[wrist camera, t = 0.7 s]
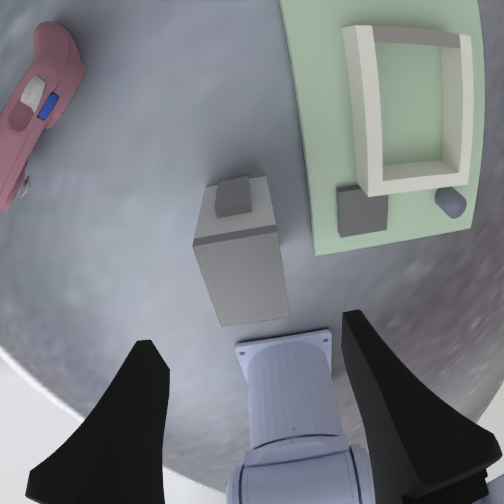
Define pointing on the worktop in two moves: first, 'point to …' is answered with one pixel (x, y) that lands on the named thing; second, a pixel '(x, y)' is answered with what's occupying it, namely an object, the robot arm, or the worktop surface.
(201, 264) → the plug
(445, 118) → the board
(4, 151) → the video game controller
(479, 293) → the worktop surface
